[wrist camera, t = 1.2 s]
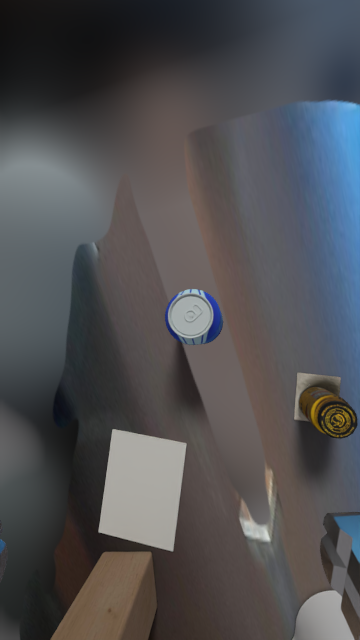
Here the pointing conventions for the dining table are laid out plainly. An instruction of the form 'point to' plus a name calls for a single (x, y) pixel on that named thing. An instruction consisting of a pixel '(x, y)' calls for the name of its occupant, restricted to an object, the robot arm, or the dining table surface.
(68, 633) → the wooden block
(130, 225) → the dining table surface
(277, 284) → the dining table surface
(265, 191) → the dining table surface
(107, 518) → the mat
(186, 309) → the beer can
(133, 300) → the dining table surface
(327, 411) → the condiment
